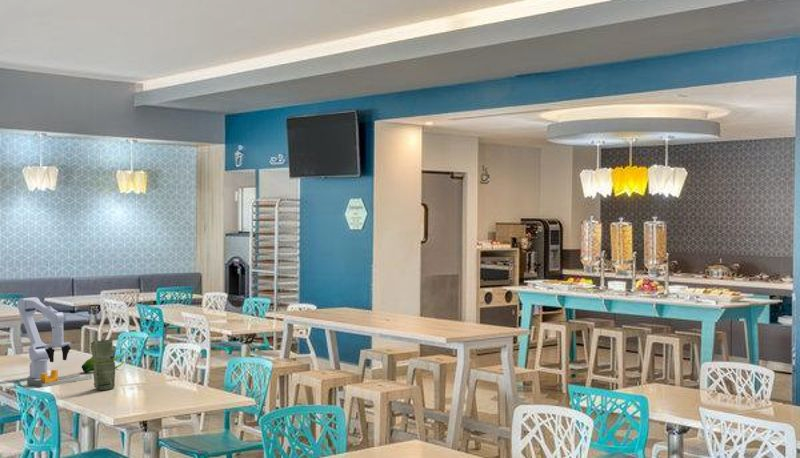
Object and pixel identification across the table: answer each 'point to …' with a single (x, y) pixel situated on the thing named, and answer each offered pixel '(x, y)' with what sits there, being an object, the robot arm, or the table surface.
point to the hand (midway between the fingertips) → (58, 361)
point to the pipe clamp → (51, 378)
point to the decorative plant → (88, 364)
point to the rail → (39, 383)
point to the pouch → (103, 364)
